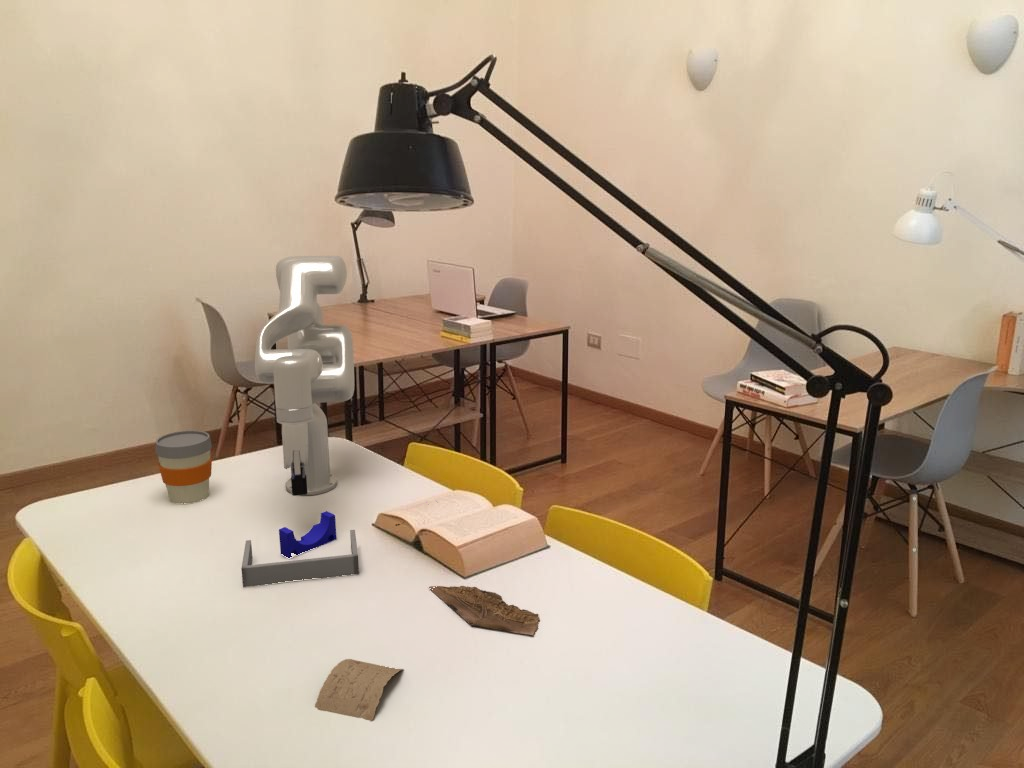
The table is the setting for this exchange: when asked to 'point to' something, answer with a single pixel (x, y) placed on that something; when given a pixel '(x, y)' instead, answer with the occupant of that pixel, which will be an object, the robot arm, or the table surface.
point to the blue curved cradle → (309, 536)
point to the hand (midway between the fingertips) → (299, 493)
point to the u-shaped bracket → (298, 567)
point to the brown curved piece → (354, 688)
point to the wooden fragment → (487, 609)
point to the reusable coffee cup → (185, 465)
